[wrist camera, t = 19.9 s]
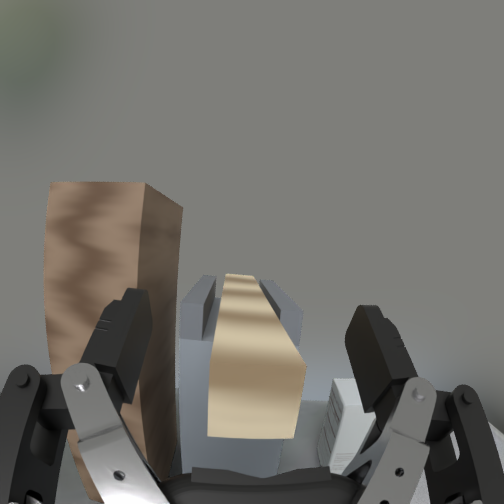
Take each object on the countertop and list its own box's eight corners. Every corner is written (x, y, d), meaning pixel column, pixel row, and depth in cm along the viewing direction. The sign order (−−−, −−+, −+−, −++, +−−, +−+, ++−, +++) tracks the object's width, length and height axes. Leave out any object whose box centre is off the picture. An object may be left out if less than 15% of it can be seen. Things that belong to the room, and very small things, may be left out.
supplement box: (362, 446, 34) (384, 376, 33) (375, 477, 26) (404, 401, 26) (315, 448, 34) (332, 376, 34) (321, 481, 27) (344, 405, 27)
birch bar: (293, 438, 9) (306, 366, 9) (207, 436, 8) (209, 362, 8) (250, 302, 33) (253, 275, 32) (224, 300, 32) (226, 273, 32)
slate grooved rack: (187, 521, 19) (180, 302, 18) (197, 443, 34) (203, 275, 33) (264, 525, 20) (303, 311, 19) (254, 447, 35) (272, 280, 34)
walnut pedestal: (89, 498, 18) (50, 182, 17) (124, 431, 33) (119, 204, 32) (158, 517, 19) (145, 182, 18) (177, 441, 34) (183, 207, 33)
